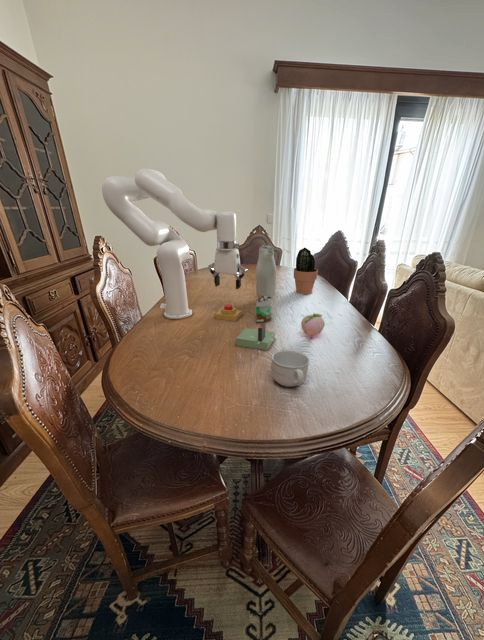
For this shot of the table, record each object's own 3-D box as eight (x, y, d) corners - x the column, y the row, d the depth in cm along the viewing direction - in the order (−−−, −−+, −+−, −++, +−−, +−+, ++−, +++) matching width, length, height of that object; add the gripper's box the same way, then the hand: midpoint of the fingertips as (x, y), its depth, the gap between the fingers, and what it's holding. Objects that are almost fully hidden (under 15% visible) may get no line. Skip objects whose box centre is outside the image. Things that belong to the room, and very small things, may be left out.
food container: (269, 325, 122) (270, 303, 118) (255, 324, 123) (255, 302, 119) (274, 315, 133) (275, 294, 128) (261, 314, 134) (261, 293, 129)
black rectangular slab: (261, 336, 106) (261, 322, 103) (265, 336, 105) (265, 323, 103) (257, 341, 102) (258, 327, 99) (261, 341, 101) (261, 328, 99)
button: (223, 310, 128) (222, 306, 127) (226, 307, 131) (226, 303, 130) (230, 311, 127) (230, 307, 126) (233, 308, 130) (233, 304, 129)
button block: (214, 318, 129) (214, 310, 127) (222, 312, 135) (221, 304, 133) (235, 321, 126) (235, 312, 124) (242, 315, 133) (241, 306, 131)
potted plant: (317, 295, 161) (322, 249, 150) (293, 295, 161) (296, 249, 150) (313, 289, 173) (318, 245, 162) (291, 288, 173) (294, 245, 162)
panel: (234, 347, 104) (234, 339, 102) (245, 334, 114) (245, 327, 112) (269, 353, 100) (270, 345, 99) (278, 339, 110) (278, 332, 109)
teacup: (268, 371, 89) (269, 349, 86) (303, 370, 90) (305, 348, 87) (274, 399, 77) (275, 374, 73) (313, 397, 78) (316, 372, 74)
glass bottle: (278, 299, 155) (280, 244, 141) (268, 304, 147) (270, 247, 134) (262, 296, 159) (263, 243, 146) (252, 300, 151) (252, 245, 138)
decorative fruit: (309, 330, 119) (312, 307, 114) (326, 336, 114) (329, 312, 109) (295, 336, 113) (297, 312, 108) (312, 343, 108) (314, 318, 103)
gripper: (250, 245, 116) (249, 287, 124) (211, 242, 121) (213, 282, 129) (243, 248, 110) (243, 291, 118) (203, 244, 114) (205, 286, 122)
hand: (227, 287), depth 123 cm, fingers open, 9 cm apart
